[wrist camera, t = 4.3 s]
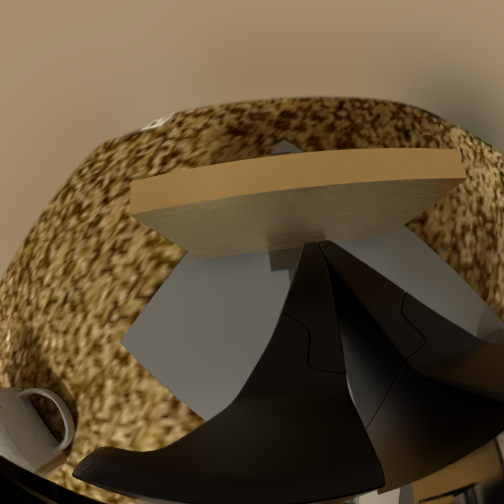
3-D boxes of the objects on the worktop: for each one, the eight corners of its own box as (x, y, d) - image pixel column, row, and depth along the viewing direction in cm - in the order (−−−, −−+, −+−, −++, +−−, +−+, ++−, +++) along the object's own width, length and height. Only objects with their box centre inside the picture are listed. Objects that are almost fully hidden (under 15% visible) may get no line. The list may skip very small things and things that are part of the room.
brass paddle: (387, 256, 14) (477, 208, 6) (205, 279, 15) (129, 250, 7) (376, 204, 15) (445, 124, 7) (201, 225, 15) (133, 152, 7)
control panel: (386, 504, 13) (402, 532, 9) (137, 339, 17) (103, 346, 13) (505, 347, 14) (538, 350, 10) (283, 158, 19) (283, 122, 15)
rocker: (391, 516, 10) (395, 523, 9) (354, 526, 10) (356, 534, 9) (395, 469, 11) (401, 475, 10) (355, 481, 11) (359, 487, 10)
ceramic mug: (57, 475, 15) (12, 500, 8) (12, 413, 17) (-37, 424, 9) (98, 437, 16) (41, 471, 9) (43, 362, 18) (-21, 369, 10)
